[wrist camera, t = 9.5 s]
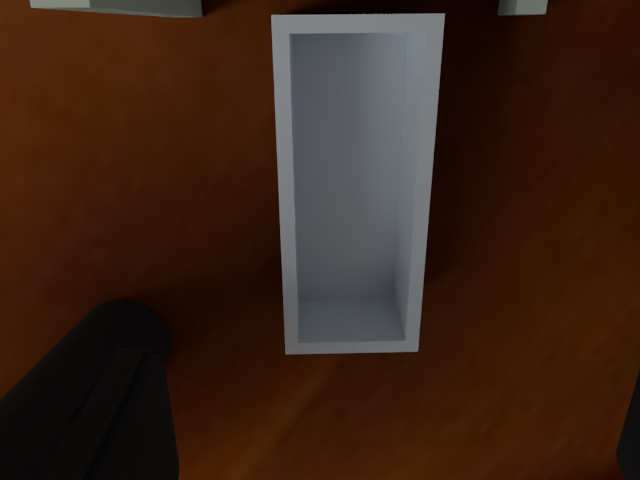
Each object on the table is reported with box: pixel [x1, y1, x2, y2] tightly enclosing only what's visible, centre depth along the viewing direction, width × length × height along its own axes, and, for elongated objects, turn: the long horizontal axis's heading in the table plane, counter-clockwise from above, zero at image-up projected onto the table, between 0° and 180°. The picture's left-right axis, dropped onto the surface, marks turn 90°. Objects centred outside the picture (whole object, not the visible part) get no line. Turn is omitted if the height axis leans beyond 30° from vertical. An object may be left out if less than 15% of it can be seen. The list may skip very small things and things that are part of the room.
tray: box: [271, 13, 445, 354], centre depth 22 cm, size 14×6×4 cm, turn 1°
